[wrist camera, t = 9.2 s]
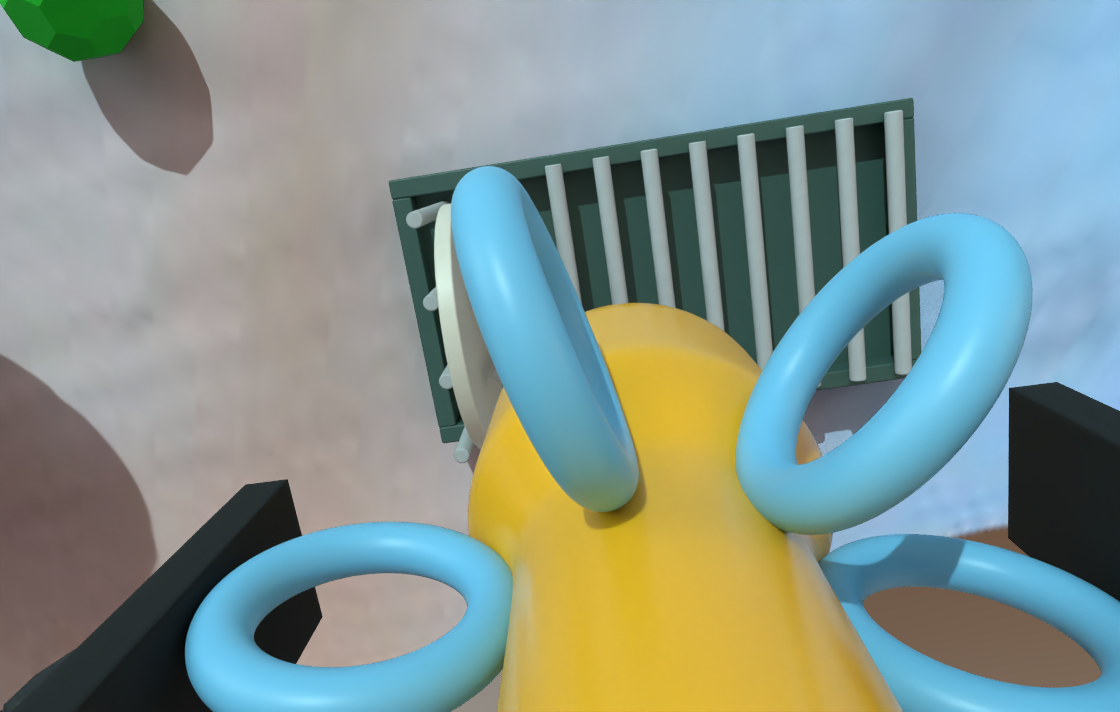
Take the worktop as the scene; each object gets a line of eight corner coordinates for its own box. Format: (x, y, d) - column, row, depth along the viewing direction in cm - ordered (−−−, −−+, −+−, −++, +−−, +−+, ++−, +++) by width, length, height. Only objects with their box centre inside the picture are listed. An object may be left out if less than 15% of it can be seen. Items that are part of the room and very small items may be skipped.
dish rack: (450, 426, 37) (403, 532, 26) (400, 179, 34) (325, 188, 23) (899, 362, 36) (1038, 446, 25) (889, 101, 33) (1042, 74, 22)
